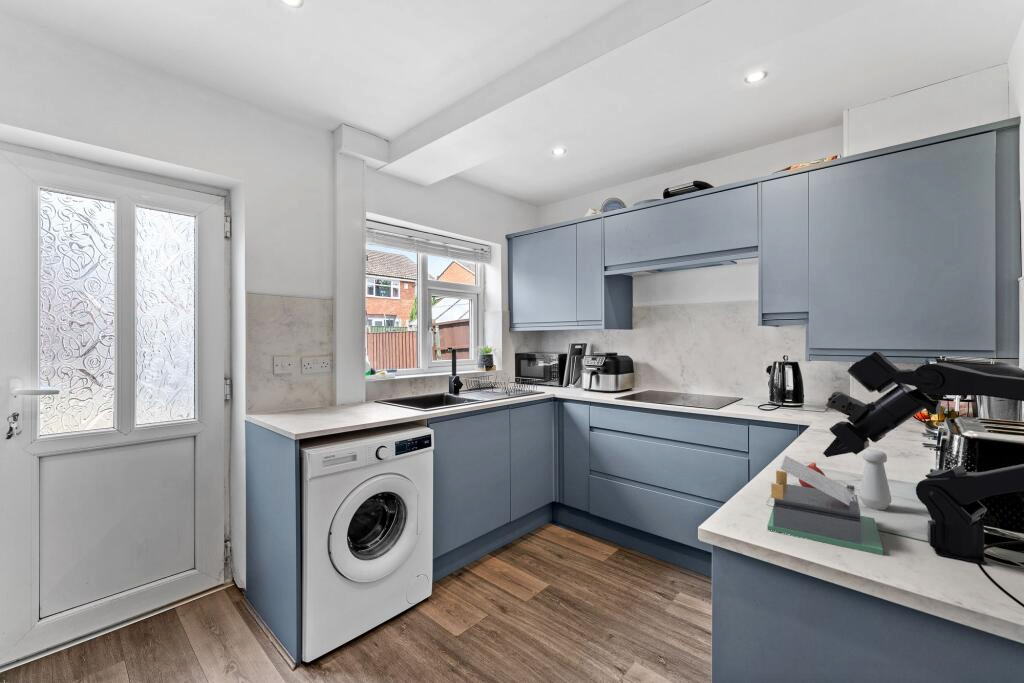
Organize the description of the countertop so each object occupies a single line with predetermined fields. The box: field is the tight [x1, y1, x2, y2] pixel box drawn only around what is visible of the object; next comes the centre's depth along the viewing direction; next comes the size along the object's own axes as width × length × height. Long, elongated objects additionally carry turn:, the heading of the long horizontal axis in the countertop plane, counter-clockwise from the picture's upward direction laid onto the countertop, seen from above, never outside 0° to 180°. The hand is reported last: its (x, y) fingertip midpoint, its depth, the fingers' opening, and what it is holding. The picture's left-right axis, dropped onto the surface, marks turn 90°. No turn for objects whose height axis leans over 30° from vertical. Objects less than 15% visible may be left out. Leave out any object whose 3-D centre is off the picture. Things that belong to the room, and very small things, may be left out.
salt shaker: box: [858, 449, 893, 511], centre depth 101 cm, size 6×6×13 cm
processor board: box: [767, 508, 884, 556], centre depth 91 cm, size 18×17×1 cm
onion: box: [798, 462, 826, 489], centre depth 110 cm, size 6×6×8 cm
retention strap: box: [780, 455, 856, 506], centre depth 91 cm, size 14×10×1 cm
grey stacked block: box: [770, 469, 861, 544], centre depth 92 cm, size 14×16×8 cm
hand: (825, 454), depth 96 cm, fingers closed
